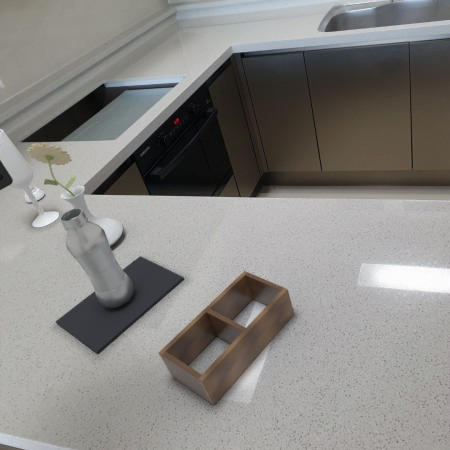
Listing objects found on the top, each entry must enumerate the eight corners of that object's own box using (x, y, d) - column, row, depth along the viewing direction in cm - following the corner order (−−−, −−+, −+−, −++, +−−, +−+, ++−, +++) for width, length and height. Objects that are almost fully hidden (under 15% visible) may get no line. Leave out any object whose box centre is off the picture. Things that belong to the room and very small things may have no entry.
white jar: (45, 191, 130) (26, 197, 128) (39, 182, 128) (21, 188, 127) (45, 199, 126) (26, 205, 125) (39, 190, 124) (20, 196, 123)
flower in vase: (136, 230, 106) (87, 132, 91) (99, 263, 98) (39, 161, 83) (97, 222, 112) (45, 128, 97) (60, 252, 104) (-2, 155, 89)
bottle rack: (214, 405, 66) (201, 381, 62) (171, 376, 71) (158, 352, 68) (294, 314, 77) (287, 289, 74) (252, 294, 83) (244, 270, 79)
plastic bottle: (95, 310, 86) (41, 226, 74) (117, 284, 90) (69, 201, 78) (123, 315, 83) (72, 229, 71) (144, 288, 88) (99, 203, 76)
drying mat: (97, 354, 78) (96, 352, 77) (56, 323, 85) (55, 321, 85) (184, 279, 89) (183, 276, 89) (141, 258, 97) (140, 255, 97)
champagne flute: (58, 221, 115) (5, 134, 101) (31, 230, 114) (-27, 144, 99) (59, 208, 120) (9, 124, 106) (33, 217, 119) (-22, 133, 105)
